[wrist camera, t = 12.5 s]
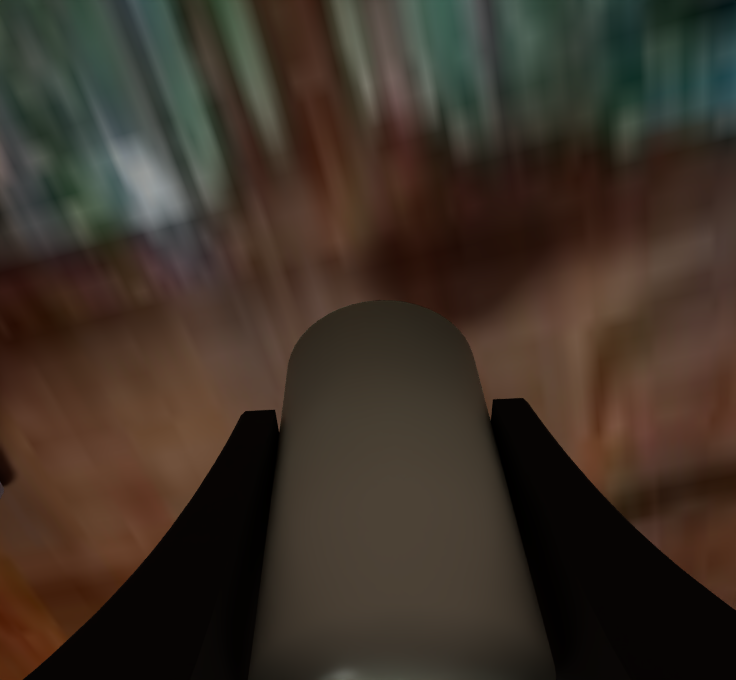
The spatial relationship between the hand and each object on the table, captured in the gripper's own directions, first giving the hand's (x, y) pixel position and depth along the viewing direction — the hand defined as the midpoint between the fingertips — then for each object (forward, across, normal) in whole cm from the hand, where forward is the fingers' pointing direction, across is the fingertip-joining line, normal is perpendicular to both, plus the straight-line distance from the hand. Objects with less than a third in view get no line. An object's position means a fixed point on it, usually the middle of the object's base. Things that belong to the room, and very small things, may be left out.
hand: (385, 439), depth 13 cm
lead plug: (+2, 0, 0) cm, 2 cm away
